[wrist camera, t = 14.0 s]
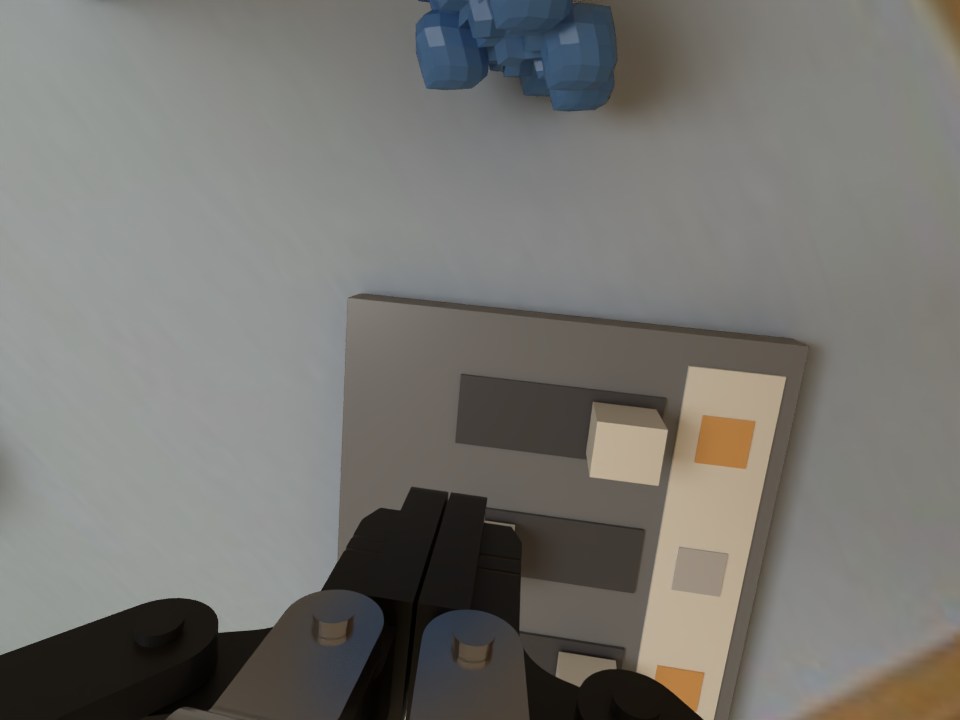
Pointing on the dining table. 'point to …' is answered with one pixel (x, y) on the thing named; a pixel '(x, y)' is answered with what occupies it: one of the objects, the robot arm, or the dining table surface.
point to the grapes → (521, 47)
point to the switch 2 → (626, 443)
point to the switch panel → (583, 469)
